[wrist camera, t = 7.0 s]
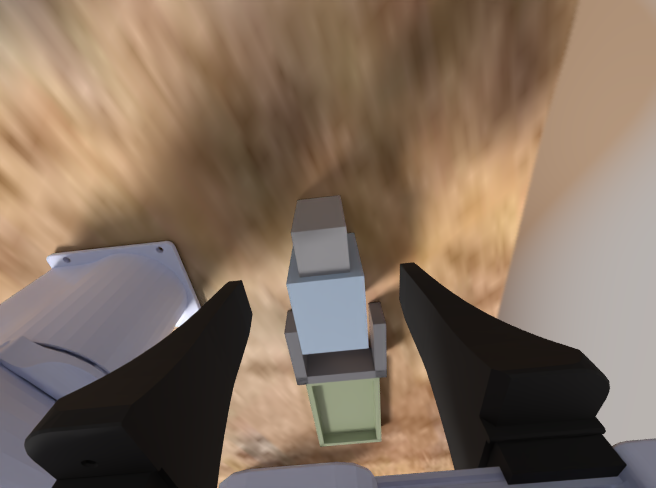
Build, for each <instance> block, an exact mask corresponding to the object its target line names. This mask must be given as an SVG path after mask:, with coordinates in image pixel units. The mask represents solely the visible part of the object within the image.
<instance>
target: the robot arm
mask: <svg viewBox="0 0 656 488" xmlns="http://www.w3.org/2000/svg"><path fill="white" fill-rule="evenodd" d="M159 247H161V248H162V249H163V250H160V249H159ZM68 258H69V259H68ZM47 262H48V263H49V265H50V266H51V268H52V269H51V270H50V271H48V272H47V273H45V274H44V275H42V276H41V277H39V278H38V279H36V280H35V281H33V282H32V283H31V284H29V285H28V286H26V287H25V288H23V289H22V290H20V291H19V292H17V293H16V294H14V295H13V296H11V297H10V298H8V299H7V300H5V301H4V302H3V303H1V304H0V488H217V483H218V475H219V467H220V460H221V454H222V447H223V440H224V434H225V428H226V423H227V417H228V411H229V406H230V401H231V396H232V391H233V387H234V383H235V379H236V376H237V373H238V370H239V367H240V363H241V360H242V357H243V354H244V350H245V347H246V344H247V340H248V337H249V333H250V327H251V321H252V311H251V308H250V305H249V301H248V298H247V295H246V292H245V289H244V286H243V282H242V280H240V281H230V282H228V283H227V284H225V285H224V286H223V287H222V288H221V289H220V290H219V291H218V292H217V293H216V294H215V295H214V296H213V297H212V298H211V299H210V300H209V301H207V302H206V303H205V304H204V305H203V306H202V307H201V306H200V303H199V301H198V299H197V296H196V294H195V292H194V289H193V287H192V285H191V282H190V280H189V277H188V275H187V273H186V270H185V268H184V266H183V263H182V261H181V259H180V256H179V254H178V252H177V249H176V247H175V245H174V244H173V243H172V242H169V241H162V242H153V243H144V244H134V245H125V246H116V247H107V248H98V249H88V250H79V251H70V252H61V253H53V254H51V255H49V256H48V257H47ZM399 300H400V303H401V307H402V311H403V314H404V318H405V321H406V323H407V325H408V328H409V330H410V333H411V335H412V337H413V340H414V342H415V344H416V347H417V349H418V351H419V354H420V356H421V358H422V361H423V363H424V366H425V369H426V371H427V374H428V377H429V381H430V384H431V387H432V390H433V393H434V397H435V400H436V404H437V407H438V410H439V414H440V417H441V421H442V424H443V428H444V432H445V435H446V439H447V442H448V446H449V450H450V454H451V458H452V461H453V465H454V469H455V470H450V471H438V472H425V473H413V474H401V475H388V476H376V477H374V476H373V474H372V473H371V471H370V470H368V469H367V468H365V467H363V466H360V465H358V464H355V463H346V462H329V463H317V464H305V465H292V466H280V467H268V468H256V469H248V470H243V471H239V472H235V473H233V474H231V475H230V476H229V477H228V478H226V479H225V480H224V481H223V482H221V483H220V485H219V488H656V439H644V440H632V441H625V442H620V443H618V444H615V445H613V446H611V445H610V444H609V442H608V441H607V440H606V439H605V437H604V436H603V435H602V434H604V433H605V432H606V430H605V428H604V426H603V425H602V424H601V423H600V421H599V420H598V419H597V418H596V417H595V416H596V415H597V413H598V411H599V410H600V408H601V406H602V404H603V403H604V401H605V400H606V398H607V396H608V393H609V389H610V386H609V380H608V379H607V377H606V376H605V375H604V374H603V373H602V372H601V371H600V370H599V369H598V368H597V367H596V366H595V365H594V364H593V363H592V362H591V361H590V360H589V359H588V358H587V357H586V356H585V355H584V354H583V353H582V352H581V351H580V350H578V349H575V348H572V347H569V346H566V345H563V344H560V343H556V342H553V341H550V340H547V339H544V338H542V337H539V336H536V335H534V334H531V333H529V332H526V331H523V330H521V329H519V328H516V327H514V326H512V325H510V324H507V323H505V322H503V321H501V320H499V319H497V318H495V317H493V316H491V315H489V314H487V313H485V312H483V311H481V310H480V309H478V308H476V307H474V306H473V305H471V304H469V303H467V302H466V301H464V300H463V299H461V298H460V297H458V296H457V295H455V294H454V293H452V292H451V291H449V290H448V289H447V288H445V287H444V286H443V285H441V284H440V283H439V282H437V281H436V280H435V279H433V278H432V277H431V276H430V275H428V274H427V273H426V272H425V271H424V270H422V269H421V268H420V267H419V266H418V265H416V264H415V263H414V262H413V263H403V264H400V293H399ZM179 326H180V327H179ZM174 327H178V328H177V329H176V330H175V331H173V329H174ZM172 331H173V332H172ZM171 332H172V333H171Z"/></svg>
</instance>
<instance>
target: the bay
mask: <svg viewBox="0 0 656 488" xmlns="http://www.w3.org/2000/svg"><path fill="white" fill-rule="evenodd" d="M368 304H369V324H370V343H371V348H366V349H356V350H345V351H335V352H325V353H314V354H304V355H302V350H301V346H300V341H299V337H298V333H297V328H296V324H295V320H294V315H293V311H288V312H287V319H286V326H285V333H284V334H285V338H286V342H287V345H288V349H289V353H290V357H291V361H292V365H293V369H294V373H295V377H296V381H297V385H305V384H316V383H327V382H338V381H349V380H360V379H371V378H381V377H387V360H386V321H385V318H384V314H383V311H382V307H381V303H380V302H376V303H368Z"/></svg>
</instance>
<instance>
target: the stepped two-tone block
mask: <svg viewBox="0 0 656 488" xmlns="http://www.w3.org/2000/svg"><path fill="white" fill-rule="evenodd" d="M291 236H292V241H293V248H292V254H291V260H290V266H289V272H288V277H287V283H286V285H287V289H288V294H289V298H290V302H291V307H292V311H293V315H294V320H295V324H296V328H297V333H298V337H299V341H300V346H301V350H302V355H304V354H314V353H325V352H335V351H345V350H356V349H366V348H369V346H368V330H367V313H366V297H365V281H364V273H363V269H362V264H361V260H360V256H359V251H358V247H357V243H356V238H355V234H354V233H347V230H346V223H345V217H344V212H343V206H342V201H341V196H340V195H338V196H329V197H320V198H312V199H303V200H297V205H296V210H295V215H294V220H293V225H292V230H291Z"/></svg>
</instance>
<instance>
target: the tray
mask: <svg viewBox="0 0 656 488" xmlns="http://www.w3.org/2000/svg"><path fill="white" fill-rule="evenodd" d="M306 387H307V391H308V396H309V400H310V404H311V409H312V413H313V417H314V422H315V426H316V430H317V435H318V439H319V443H320V447H322V446H334V445H346V444H357V443H369V442H381V414H380V382H379V378H371V379H360V380H349V381H338V382H327V383H316V384H306Z"/></svg>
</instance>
